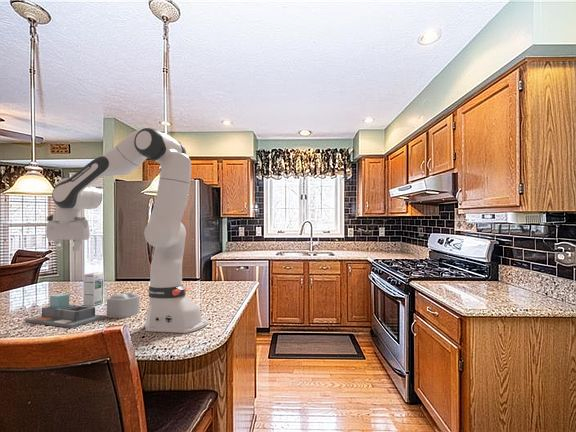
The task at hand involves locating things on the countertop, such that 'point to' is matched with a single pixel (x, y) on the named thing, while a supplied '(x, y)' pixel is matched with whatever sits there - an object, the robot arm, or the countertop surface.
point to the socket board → (66, 316)
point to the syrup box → (93, 289)
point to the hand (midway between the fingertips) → (67, 250)
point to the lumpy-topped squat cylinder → (123, 305)
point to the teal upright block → (59, 301)
